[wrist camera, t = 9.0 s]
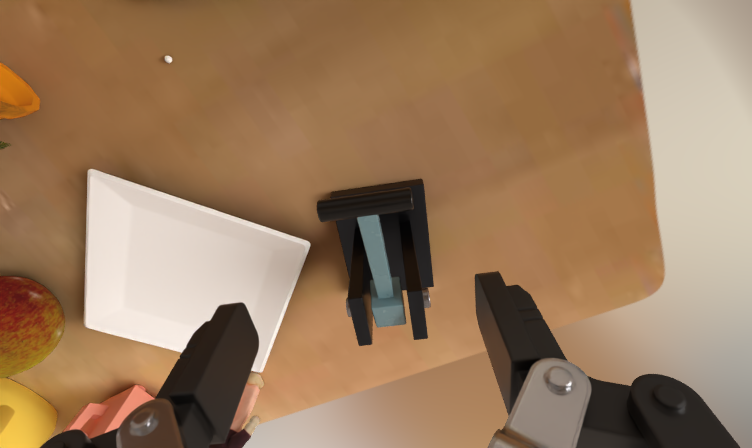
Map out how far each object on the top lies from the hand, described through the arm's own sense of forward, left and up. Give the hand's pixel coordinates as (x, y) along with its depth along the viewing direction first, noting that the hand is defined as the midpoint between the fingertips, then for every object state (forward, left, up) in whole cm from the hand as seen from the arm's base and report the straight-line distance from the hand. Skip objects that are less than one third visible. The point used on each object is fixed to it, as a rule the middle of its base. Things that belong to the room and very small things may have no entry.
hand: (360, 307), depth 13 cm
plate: (+19, +11, -20) cm, 30 cm away
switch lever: (0, +5, -11) cm, 12 cm away
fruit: (+37, +11, -20) cm, 43 cm away
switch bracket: (0, +9, -20) cm, 22 cm away
